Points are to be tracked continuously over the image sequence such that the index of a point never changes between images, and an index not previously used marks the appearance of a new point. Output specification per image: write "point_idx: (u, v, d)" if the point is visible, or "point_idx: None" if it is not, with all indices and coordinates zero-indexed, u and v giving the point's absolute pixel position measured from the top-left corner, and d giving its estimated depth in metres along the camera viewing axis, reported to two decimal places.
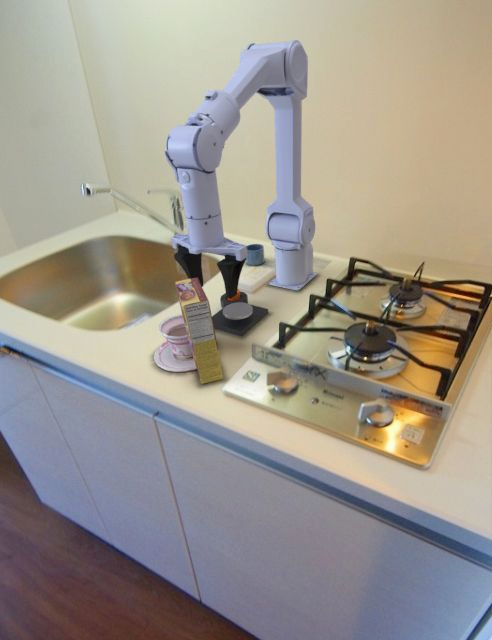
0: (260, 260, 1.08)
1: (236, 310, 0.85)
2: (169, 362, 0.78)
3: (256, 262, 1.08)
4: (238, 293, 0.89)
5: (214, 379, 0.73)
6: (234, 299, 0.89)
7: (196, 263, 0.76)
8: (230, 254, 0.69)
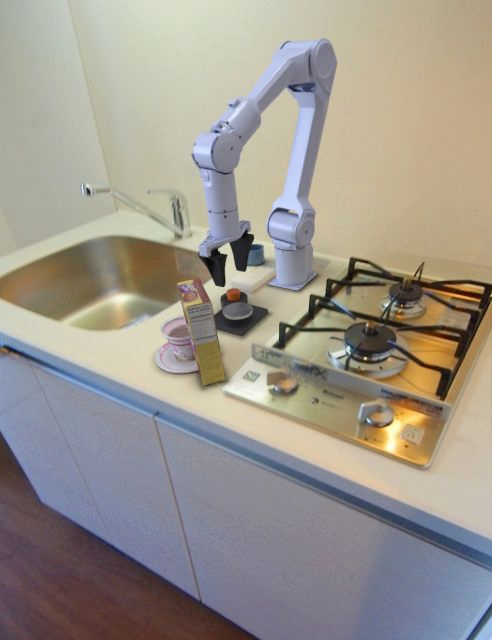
0: (260, 260, 1.08)
1: (236, 310, 0.85)
2: (170, 363, 0.78)
3: (256, 262, 1.08)
4: (238, 293, 0.89)
5: (216, 380, 0.72)
6: (234, 299, 0.89)
7: (240, 249, 0.86)
8: None
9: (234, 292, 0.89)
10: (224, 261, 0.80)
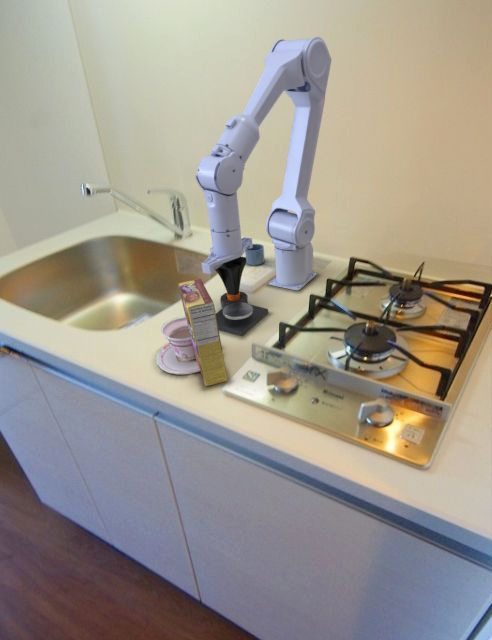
0: (260, 260, 1.08)
1: (236, 310, 0.85)
2: (172, 365, 0.77)
3: (256, 262, 1.08)
4: (238, 295, 0.89)
5: (218, 381, 0.72)
6: None
7: None
8: None
9: None
10: (237, 271, 0.85)
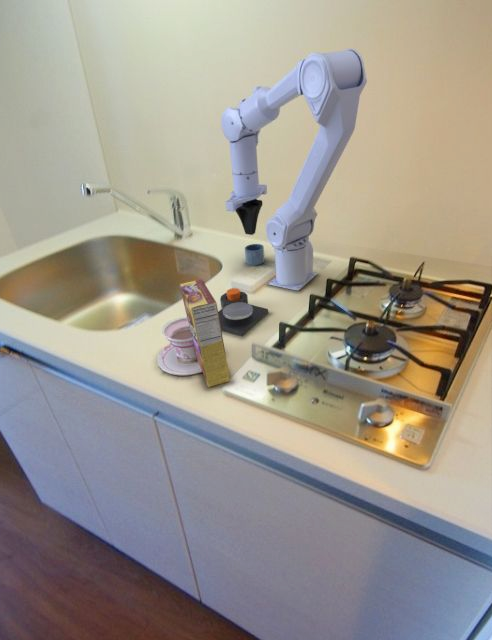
0: (260, 260, 1.08)
1: (236, 310, 0.85)
2: (173, 366, 0.77)
3: (256, 262, 1.08)
4: (238, 293, 0.89)
5: (221, 382, 0.72)
6: (234, 299, 0.89)
7: None
8: None
9: (234, 292, 0.89)
10: (254, 211, 0.98)
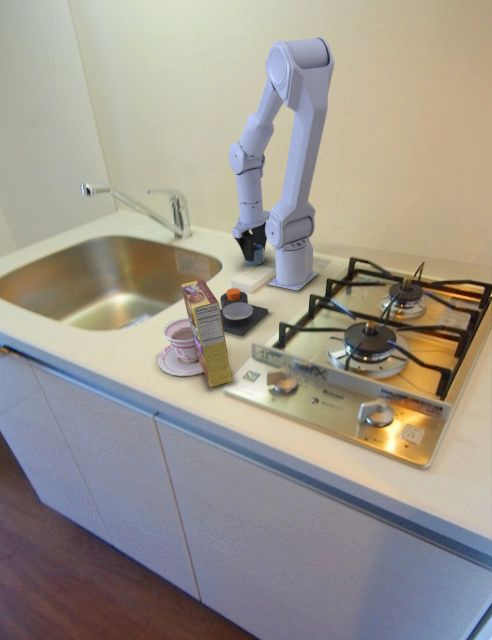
0: (260, 260, 1.08)
1: (236, 310, 0.85)
2: (174, 366, 0.77)
3: (256, 262, 1.08)
4: (238, 293, 0.89)
5: (223, 382, 0.72)
6: (234, 299, 0.89)
7: (260, 235, 1.08)
8: (242, 230, 1.02)
9: (234, 292, 0.89)
10: (253, 240, 1.03)
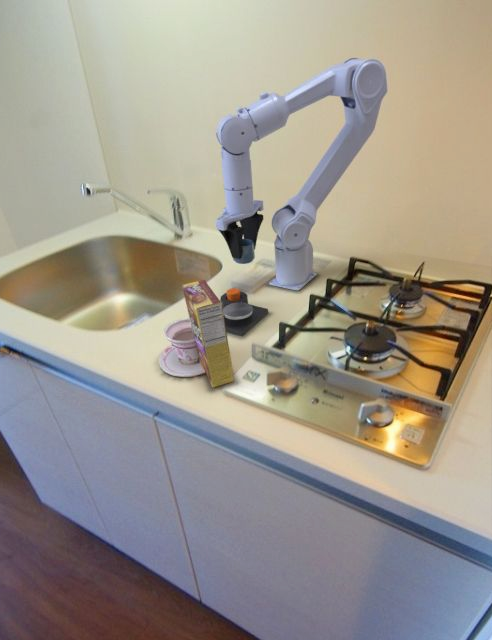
0: (249, 257, 0.93)
1: (236, 310, 0.85)
2: (175, 367, 0.77)
3: (244, 260, 0.93)
4: (238, 293, 0.89)
5: (225, 382, 0.72)
6: (234, 299, 0.89)
7: (250, 229, 0.92)
8: None
9: (234, 292, 0.89)
10: (241, 234, 0.87)
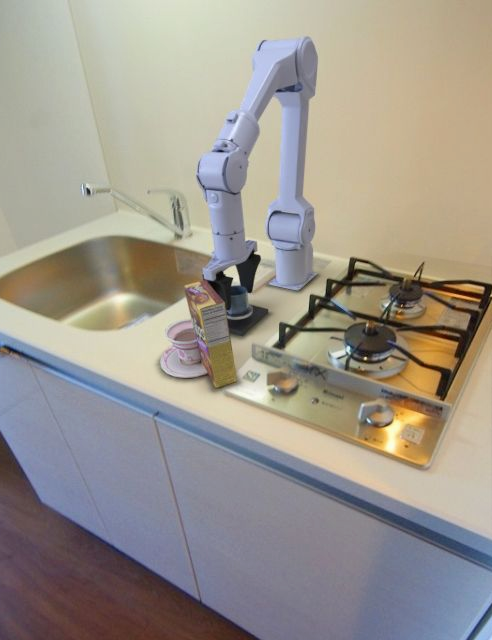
0: (243, 307, 0.82)
1: None
2: (177, 368, 0.76)
3: (237, 310, 0.82)
4: None
5: (228, 382, 0.72)
6: None
7: (246, 270, 0.83)
8: None
9: None
10: (230, 284, 0.76)
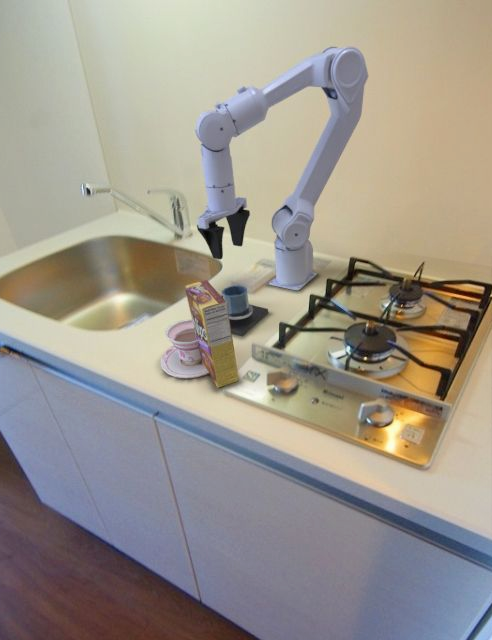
0: (243, 307, 0.82)
1: None
2: (178, 369, 0.76)
3: (237, 310, 0.82)
4: None
5: (230, 382, 0.72)
6: None
7: (237, 225, 0.92)
8: None
9: None
10: (221, 233, 0.86)
